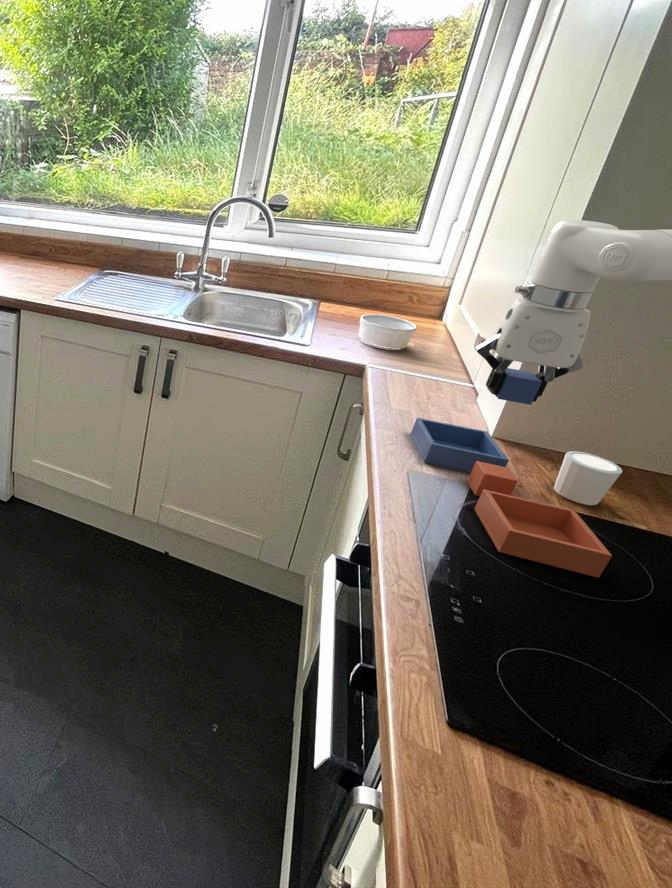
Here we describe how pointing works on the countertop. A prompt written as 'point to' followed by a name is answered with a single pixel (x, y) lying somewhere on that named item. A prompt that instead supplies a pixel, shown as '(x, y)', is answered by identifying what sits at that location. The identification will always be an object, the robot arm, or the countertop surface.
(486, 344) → the robot arm
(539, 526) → the terracotta bin
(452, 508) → the countertop surface
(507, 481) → the terracotta block
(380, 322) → the ramekin
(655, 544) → the countertop surface
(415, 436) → the blue bin
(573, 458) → the white cylinder
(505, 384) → the blue block
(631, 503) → the countertop surface
